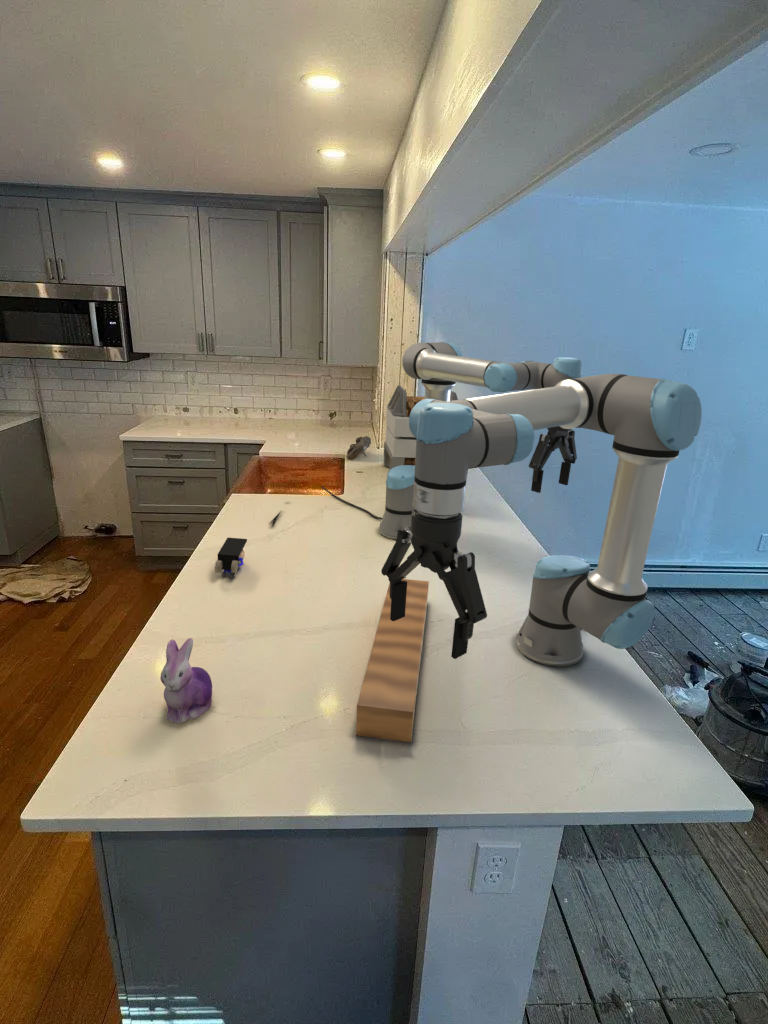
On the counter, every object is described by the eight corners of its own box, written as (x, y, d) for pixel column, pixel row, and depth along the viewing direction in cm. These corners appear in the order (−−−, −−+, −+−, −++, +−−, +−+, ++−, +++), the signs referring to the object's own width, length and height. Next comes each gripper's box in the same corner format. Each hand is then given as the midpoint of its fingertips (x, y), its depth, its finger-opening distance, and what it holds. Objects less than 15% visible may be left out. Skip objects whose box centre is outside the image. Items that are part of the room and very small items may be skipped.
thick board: (389, 600, 154) (390, 577, 152) (427, 603, 153) (429, 581, 151) (355, 735, 105) (356, 705, 103) (410, 742, 104) (413, 711, 102)
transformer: (382, 463, 289) (386, 382, 275) (445, 464, 293) (451, 384, 279) (390, 482, 257) (394, 392, 243) (460, 483, 261) (468, 394, 247)
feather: (288, 505, 226) (290, 501, 226) (271, 529, 199) (273, 524, 199) (284, 503, 226) (287, 499, 225) (266, 526, 199) (269, 522, 199)
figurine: (167, 732, 103) (160, 663, 98) (160, 699, 112) (153, 633, 107) (220, 718, 108) (215, 650, 103) (209, 687, 116) (204, 623, 111)
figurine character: (238, 584, 162) (249, 557, 175) (236, 562, 158) (247, 536, 172) (215, 584, 161) (227, 556, 175) (212, 561, 158) (225, 535, 171)
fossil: (346, 442, 311) (368, 427, 306) (357, 455, 314) (379, 440, 309) (340, 456, 291) (363, 440, 286) (351, 470, 294) (374, 454, 289)
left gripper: (545, 421, 148) (534, 498, 155) (596, 413, 163) (584, 484, 170) (522, 416, 153) (512, 491, 160) (573, 409, 168) (563, 478, 176)
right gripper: (363, 492, 90) (358, 611, 97) (488, 543, 72) (472, 682, 79) (398, 485, 94) (391, 598, 102) (523, 530, 77) (504, 663, 84)
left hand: (549, 487), depth 165 cm, fingers open, 13 cm apart
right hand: (426, 635), depth 91 cm, fingers open, 13 cm apart
